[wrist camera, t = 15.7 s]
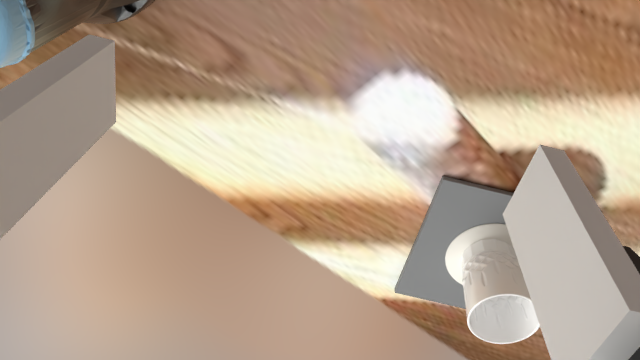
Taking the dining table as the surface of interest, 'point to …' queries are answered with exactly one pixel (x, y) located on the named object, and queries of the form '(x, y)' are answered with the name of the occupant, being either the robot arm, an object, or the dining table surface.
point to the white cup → (496, 293)
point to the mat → (452, 239)
